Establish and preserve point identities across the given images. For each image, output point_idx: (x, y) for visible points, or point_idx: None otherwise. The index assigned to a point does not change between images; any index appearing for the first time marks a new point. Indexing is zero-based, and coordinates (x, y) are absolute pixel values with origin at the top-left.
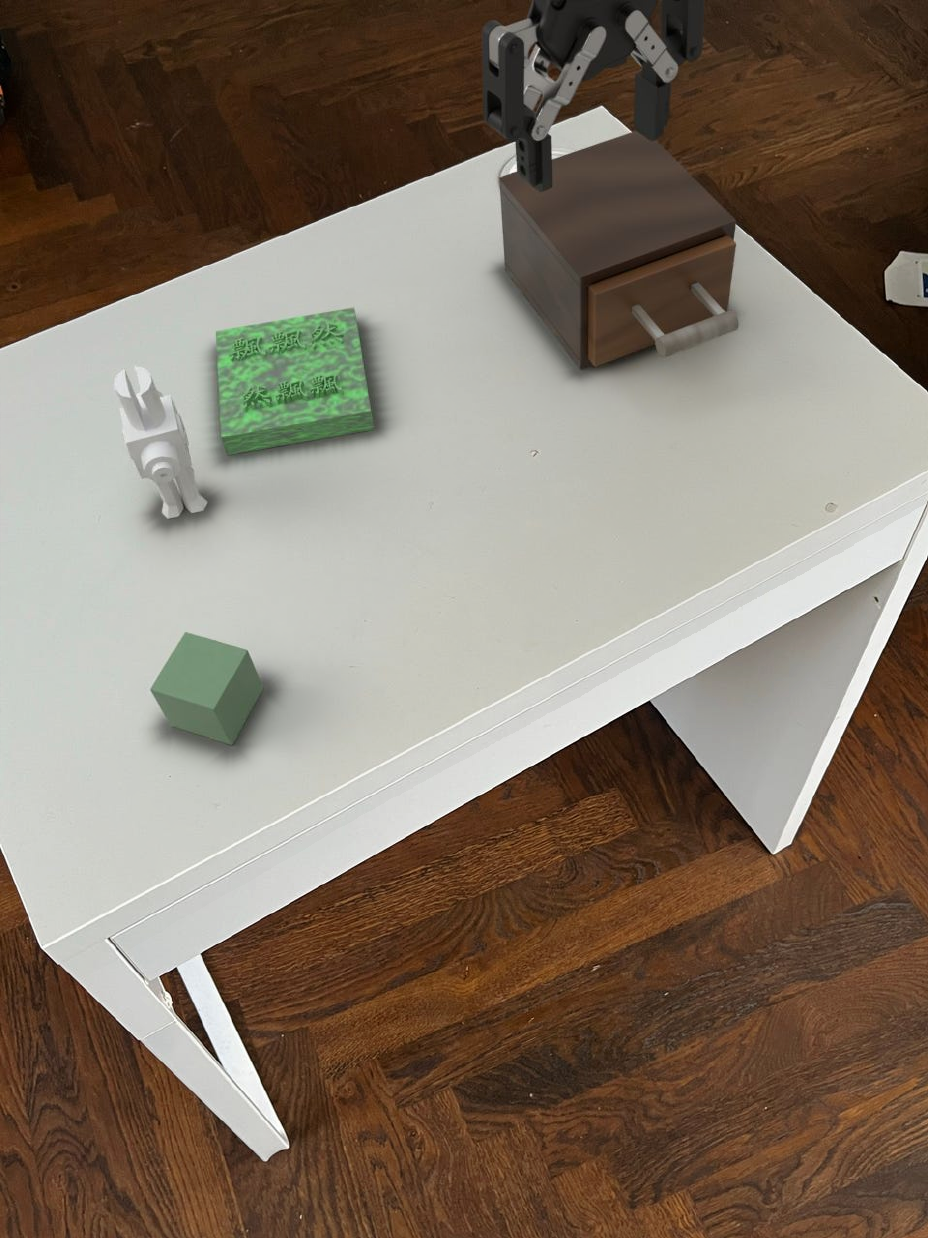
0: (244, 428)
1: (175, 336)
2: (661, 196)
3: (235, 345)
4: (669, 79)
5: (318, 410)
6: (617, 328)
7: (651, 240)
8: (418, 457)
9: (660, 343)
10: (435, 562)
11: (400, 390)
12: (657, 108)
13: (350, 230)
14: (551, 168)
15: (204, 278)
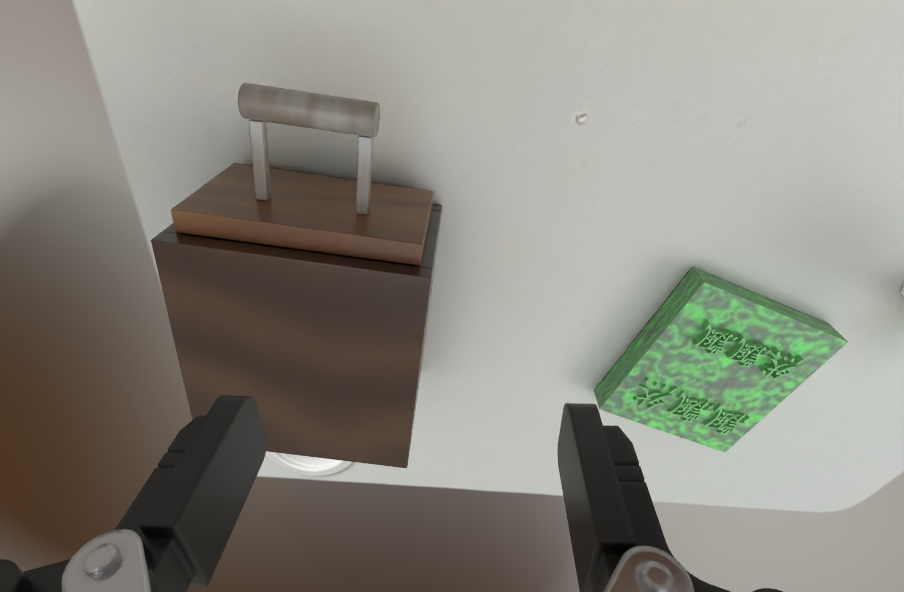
0: (820, 338)
1: (730, 464)
2: (235, 340)
3: (729, 429)
4: (120, 537)
5: (745, 315)
6: (394, 205)
7: (294, 279)
8: (690, 201)
9: (375, 122)
10: (823, 25)
11: (626, 297)
12: (203, 466)
13: (512, 481)
14: (581, 446)
15: (656, 500)
